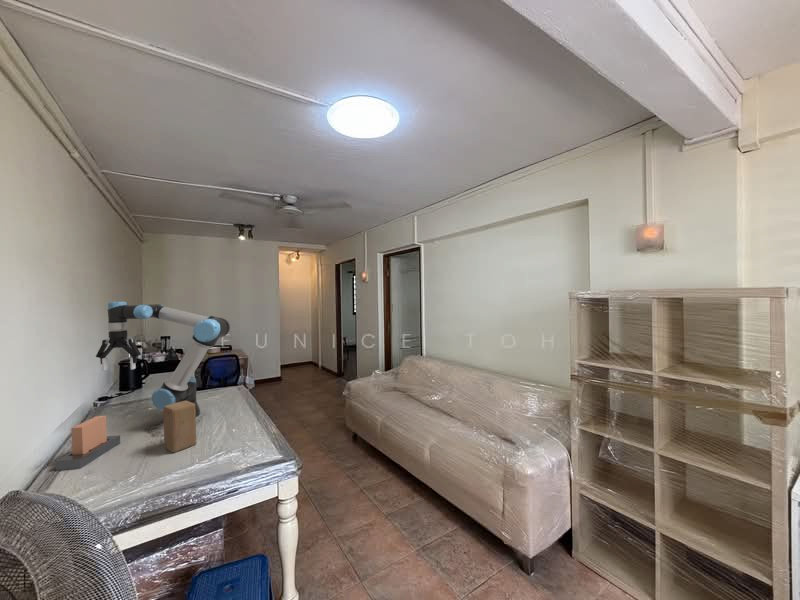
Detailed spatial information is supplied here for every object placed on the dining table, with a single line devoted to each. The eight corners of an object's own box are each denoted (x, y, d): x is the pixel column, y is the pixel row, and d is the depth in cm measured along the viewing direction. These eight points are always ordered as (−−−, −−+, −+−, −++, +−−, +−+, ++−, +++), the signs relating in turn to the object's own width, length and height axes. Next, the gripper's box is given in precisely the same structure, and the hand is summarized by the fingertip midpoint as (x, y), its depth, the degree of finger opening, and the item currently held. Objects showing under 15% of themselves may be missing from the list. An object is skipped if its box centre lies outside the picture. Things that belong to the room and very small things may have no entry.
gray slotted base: (120, 443, 151) (119, 435, 151) (80, 468, 130) (80, 459, 130) (99, 444, 150) (98, 436, 150) (55, 470, 128) (55, 460, 128)
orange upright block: (107, 445, 147) (106, 415, 146) (83, 459, 134) (82, 427, 133) (96, 446, 146) (96, 416, 146) (71, 460, 133) (70, 428, 133)
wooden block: (173, 453, 141) (172, 409, 140) (163, 448, 146) (162, 405, 146) (197, 444, 149) (196, 403, 149) (187, 439, 155) (186, 399, 154)
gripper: (148, 328, 174) (149, 366, 174) (97, 330, 170) (98, 368, 171) (138, 330, 166) (140, 370, 167) (85, 331, 163) (87, 372, 163)
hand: (119, 369), depth 169 cm, fingers open, 13 cm apart
